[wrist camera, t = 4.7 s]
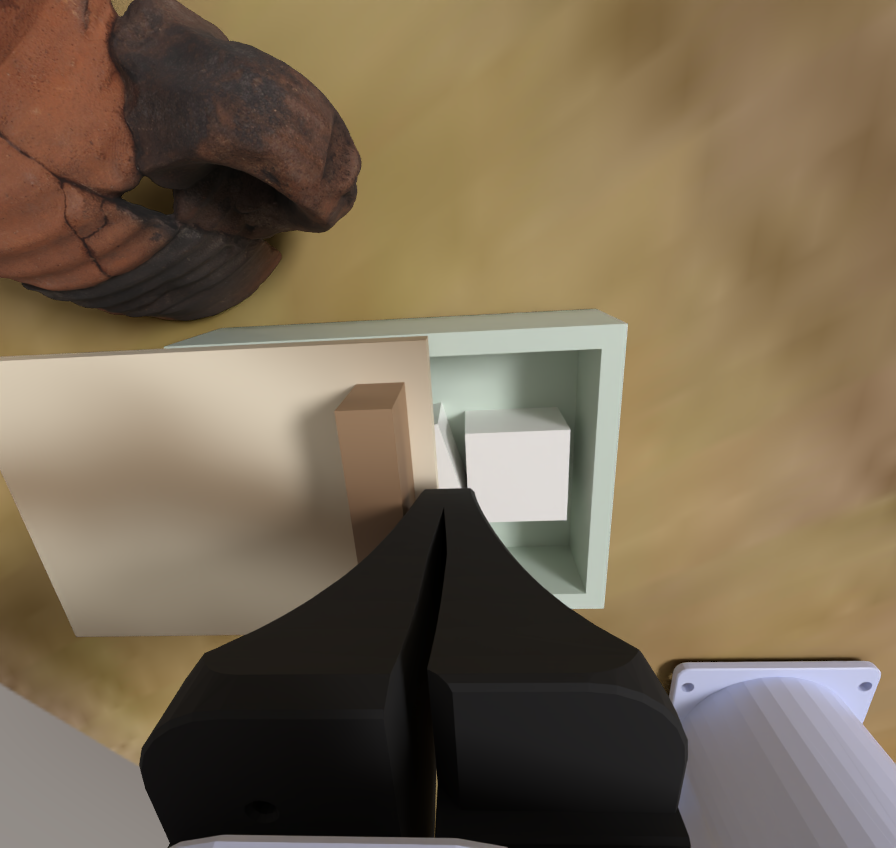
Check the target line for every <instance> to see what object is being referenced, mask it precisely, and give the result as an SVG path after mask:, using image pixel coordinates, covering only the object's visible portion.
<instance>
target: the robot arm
mask: <svg viewBox="0 0 896 848" xmlns="http://www.w3.org/2000/svg"><path fill="white" fill-rule="evenodd" d="M880 677H881V672H880V670H879V669H878V668H877V667H876V666H875V665H874V664H873V663H871V662H868V661H787V662H685V663H681V664H679V665H677V666H676V667H675V669H674V671H673V676H672V682H671V688H670V694H669V696H668V695H667V693H666V691H665V690H664V688H663V686H662V685H661V683H660V681H659V680H658V678H657V676H656V675H655V673H654V671H653V670H652V668H651V667H650V665H649V664H648V662H647V660H646V659H645V657H644V656H643V654H642V653H641V651H640V650H639V649H637V648H635V647H633V646H632V645H630V644H628V643H626V642H624V641H623V640H621V639H619V638H617V637H615V636H614V635H612V634H610V633H608V632H607V631H605V630H603V629H601V628H599V627H598V626H596V625H594V624H593V623H591V622H590V621H588V620H587V619H585V618H584V617H582V616H581V615H579V614H578V613H576V612H575V611H573V610H572V609H570V608H569V607H568V606H566V605H565V604H564V603H562V602H561V601H560V600H559V599H557V598H556V597H555V596H554V595H552V594H551V593H550V592H549V591H548V590H546V589H545V588H544V587H543V586H542V585H541V584H540V583H538V582H537V581H536V580H535V579H534V578H533V577H532V576H531V575H530V574H529V573H528V572H527V571H526V570H525V569H524V568H523V567H522V566H521V564H520V563H519V562H518V561H517V560H516V559H515V558H514V556H513V555H512V554H511V553H510V552H509V550H508V549H507V548H506V547H505V545H504V544H503V543H502V541H501V540H500V539H499V537H498V536H497V534H496V533H495V531H494V530H493V528H492V527H491V525H490V524H489V522H488V520H487V519H486V517H485V515H484V513H483V512H482V510H481V508H480V506H479V503H478V501H477V499H476V496H475V492H474V491H473V490H472V489H471V488H451V489H425V490H424V491H423V492H422V493H421V494H420V495H419V497H418V498H417V499H416V501H415V502H414V503H413V505H412V506H411V507H410V509H409V510H408V511H407V513H406V514H405V515H404V516H403V518H402V519H401V520H400V521H399V522H398V524H397V525H396V526H395V527H394V528H393V529H392V531H391V532H390V533H389V534H388V535H387V536H386V537H385V538H384V539H383V540H382V541H381V542H380V543H379V544H378V546H377V547H376V548H375V549H374V550H373V551H372V552H371V553H370V554H369V555H368V556H367V557H365V558H364V559H363V560H362V561H361V562H360V563H359V564H358V565H356V566H355V567H354V568H353V569H352V570H350V571H349V572H348V573H347V574H345V575H344V576H343V577H342V578H340V579H339V580H337V581H336V582H335V583H333V584H332V585H330V586H329V587H327V588H326V589H324V590H323V591H322V592H320V593H319V594H317V595H316V596H314V597H313V598H311V599H310V600H308V601H307V602H305V603H304V604H302V605H300V606H299V607H297V608H295V609H294V610H292V611H290V612H288V613H287V614H285V615H283V616H281V617H279V618H278V619H276V620H274V621H272V622H270V623H268V624H266V625H265V626H263V627H261V628H259V629H257V630H255V631H253V632H250V633H248V634H246V635H244V636H242V637H240V638H237V639H235V640H233V641H231V642H229V643H227V644H225V645H222V646H220V647H218V648H216V649H214V650H211V651H209V652H206V653H204V655H203V656H202V657H201V659H200V660H199V662H198V663H197V664H196V666H195V667H194V668H193V670H192V671H191V673H190V674H189V675H188V677H187V678H186V679H185V681H184V683H183V684H182V686H181V687H180V689H179V691H178V692H177V694H176V695H175V697H174V698H173V700H172V702H171V703H170V705H169V706H168V708H167V710H166V711H165V713H164V714H163V716H162V717H161V719H160V720H159V722H158V724H157V725H156V727H155V728H154V730H153V731H152V733H151V734H150V736H149V738H148V739H147V741H146V742H145V744H144V745H143V747H142V750H141V757H140V763H139V766H140V770H141V774H142V778H143V782H144V785H145V789H146V791H147V793H148V796H149V798H150V800H151V802H152V804H153V806H154V809H155V811H156V813H157V815H158V818H159V820H160V822H161V824H162V826H163V829H164V831H165V833H166V835H167V838H168V840H169V842H170V844H169V846H168V848H896V764H895V763H894V762H893V760H892V759H891V758H890V757H889V756H888V754H887V753H886V752H885V751H884V750H883V748H882V747H881V746H880V745H879V744H878V742H877V741H876V740H875V739H874V738H873V736H872V735H871V734H870V733H869V731H868V730H867V729H866V728H865V727H864V725H863V721H864V719H865V716H866V713H867V711H868V708H869V706H870V703H871V701H872V698H873V695H874V693H875V690H876V688H877V685H878V682H879V680H880ZM436 769H437V779H438V790H437V809H436V827H435V795H436ZM434 828H435V838H434Z"/></svg>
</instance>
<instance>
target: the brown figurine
mask: <svg viewBox="0 0 896 848" xmlns="http://www.w3.org/2000/svg"><path fill="white" fill-rule="evenodd" d="M360 170H361V158H360V155H359V152H358V151H357V149H356V147H355V145H354V142H353V140H352V138H351V136H350V133H349V131H348V129H347V127H346V125H345V123H344V121H343V120H342V118H341V117H340V115H339V113H338V112H337V110H336V109H335V108H334V107H333V106H332V104H331V103H330V101H329V100H328V99H327V98H326V96H325V95H324V94H323V93H322V92H321V91H320V90H319V89H318V88H317V87H316V86H315V85H314V84H313V83H311V82H310V81H309V80H308V79H307V78H306V77H304V76H303V75H302V74H301V73H299V72H298V71H296V70H295V69H293V68H292V67H290V66H289V65H287V64H286V63H285V62H283V61H281V60H278V59H276V58H275V57H273V56H271V55H269V54H267V53H265V52H263V51H261V50H259V49H257V48H255V47H253V46H250V45H247V44H243V43H240V42H235V41H229V40H228V38H227V37H226V36H225V35H224V33H223V32H222V31H221V30H220V29H219V28H218V27H216V26H215V25H214V24H212V23H210V22H208V21H206V20H204V19H203V18H202V17H200V16H199V15H197V14H196V13H194V12H193V11H191V10H189V9H188V8H186V7H185V6H184V5H182V4H181V3H179V2H178V1H176V0H134V1H132V2H131V3H130V5H129V6H128V9H127V11H126V12H125V13H124V15H123V16H121V17H120V16H118V14H117V13H116V11H115V9H114V8H113V5H112V3H111V0H0V277H1V278H9V279H12V280H15V281H18V282H21V283H22V285H23V286H24V287H25V288H26V289H28V290H33V291H37V292H40V293H42V294H43V295H45V296H47V297H49V298H51V299H55V300H59V301H71V302H73V303H75V304H77V305H79V306H82V307H85V308H97V309H99V310H102V311H105V312H107V313H110V314H114V315H126V316H129V317H142V316H152V317H156V318H160V319H167V320H183V321H188V320H195V319H200V318H203V317H208V316H213V315H216V314H218V313H220V312H222V311H224V310H226V309H228V308H230V307H232V306H235V305H237V304H238V303H240V302H242V301H243V300H244V299H246V298H248V297H249V296H250V295H252V294H253V293H254V292H255V291H256V290H257V289H258V287H259V286H260V284H261V283H263V282H264V281H265V280H266V279H267V277H268V276H269V275H270V274H271V273H272V271H273V270H274V269H275V267H276V266H277V265H278V263H279V262H280V260H281V257H282V256H281V253H280V252H279V251H278V250H277V249H276V248H274V247H272V246H270V245H269V243H268V242H267V241H265V240H264V239H266V238H270V237H272V236H274V235H276V234H277V233H280V232H287V231H294V230H299V231H304V232H313V233H321V232H326V231H327V230H329V229H330V228H332V227H333V226H334V225H335V223H336V222H337V221H338V220H339V219H341V218H342V217H343V216H345V215H346V214H347V213H348V212H349V211H350V210H351V208H352V207H353V205H354V202H355V200H356V196H357V185H356V182H357V176H358V174H359V172H360ZM143 176H147V177H148V178H150V179H151V180H152V181H153V182H154V183H156V184H157V185H159V186H161V187H164V188H169V189H173V197H174V204H173V209H174V213H173V214H170V215H165V214H163V213H161V212H158V211H154V210H150V209H147V208H145V207H143V206H141V205H137V204H132V203H130V202H127V201H125V200H124V199H122V198H121V196H122V195H123V194H124V193H125V192H128V191H130V190H132V189H134V188H135V187H136V186H137V185H138V184H139V182H140V180H141V178H142V177H143Z"/></svg>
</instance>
